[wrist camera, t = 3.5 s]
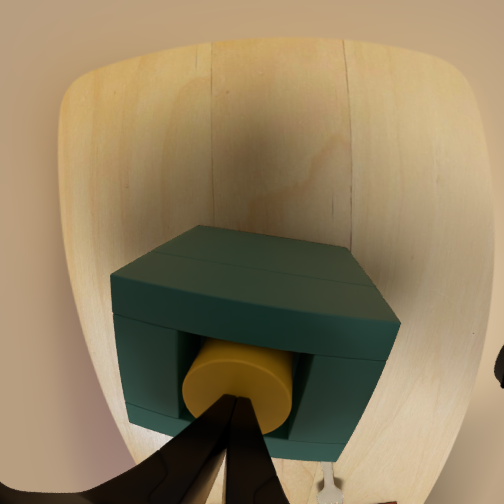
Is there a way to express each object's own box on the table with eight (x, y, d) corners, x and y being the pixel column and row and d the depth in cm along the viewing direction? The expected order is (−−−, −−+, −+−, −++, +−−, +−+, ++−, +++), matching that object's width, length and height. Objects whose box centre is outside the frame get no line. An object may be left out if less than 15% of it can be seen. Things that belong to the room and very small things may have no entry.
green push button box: (347, 247, 17) (402, 322, 8) (322, 348, 19) (336, 462, 9) (198, 225, 18) (109, 274, 8) (191, 326, 19) (128, 422, 10)
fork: (332, 378, 22) (335, 397, 19) (343, 503, 24) (344, 519, 21) (298, 384, 22) (298, 403, 19) (321, 506, 24) (320, 523, 22)
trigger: (301, 324, 11) (302, 371, 8) (284, 394, 12) (280, 444, 9) (206, 308, 11) (181, 349, 8) (202, 379, 12) (182, 424, 9)
